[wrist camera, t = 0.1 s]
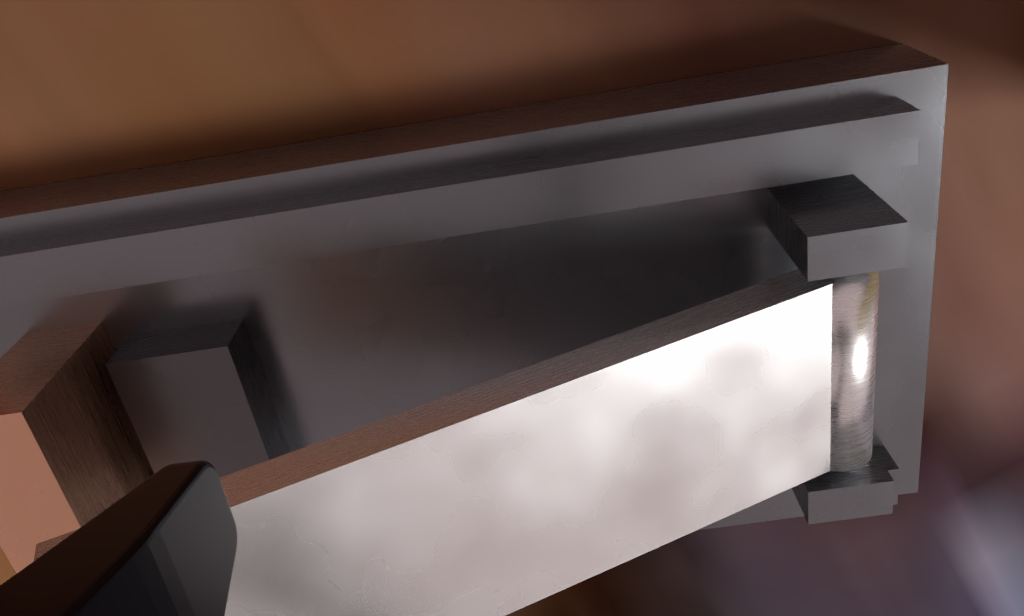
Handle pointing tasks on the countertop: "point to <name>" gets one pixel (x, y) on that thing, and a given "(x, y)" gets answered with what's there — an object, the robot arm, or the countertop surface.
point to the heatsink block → (454, 272)
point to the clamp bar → (563, 461)
